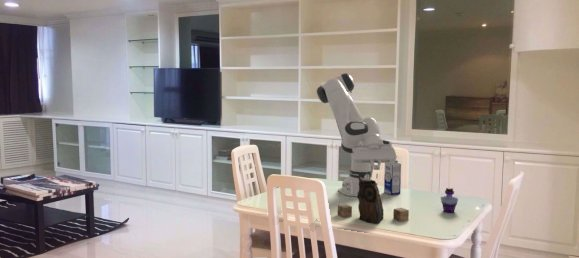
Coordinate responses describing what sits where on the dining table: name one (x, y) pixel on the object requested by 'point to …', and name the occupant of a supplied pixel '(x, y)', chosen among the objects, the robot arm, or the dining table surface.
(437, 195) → the dining table surface
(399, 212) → the walnut block two
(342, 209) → the walnut block one
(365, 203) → the dark brown speaker
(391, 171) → the milk carton
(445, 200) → the potion bottle
